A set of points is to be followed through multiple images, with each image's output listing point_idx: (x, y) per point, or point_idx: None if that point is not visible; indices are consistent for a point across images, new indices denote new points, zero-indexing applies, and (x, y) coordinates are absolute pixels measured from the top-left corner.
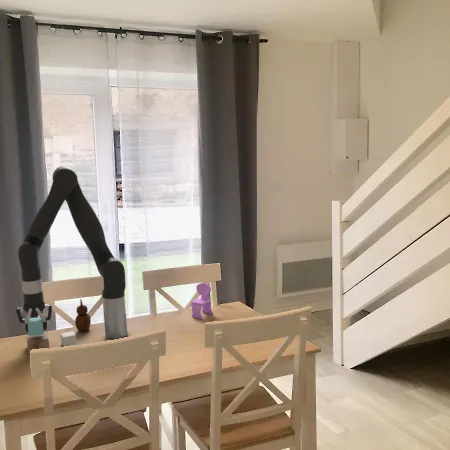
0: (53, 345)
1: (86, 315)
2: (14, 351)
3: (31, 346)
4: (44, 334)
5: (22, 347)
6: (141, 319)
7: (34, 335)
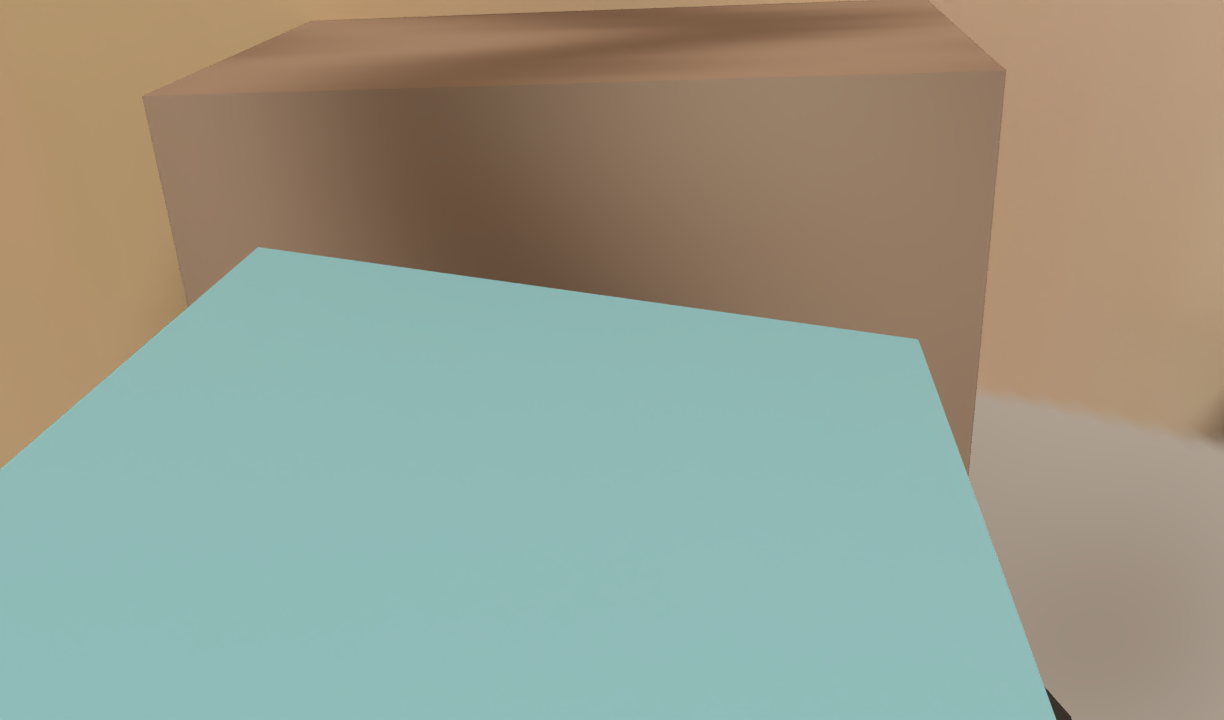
0: (1037, 282)
1: None
2: (15, 252)
3: None
4: (849, 327)
5: (165, 42)
6: None
7: (458, 263)
